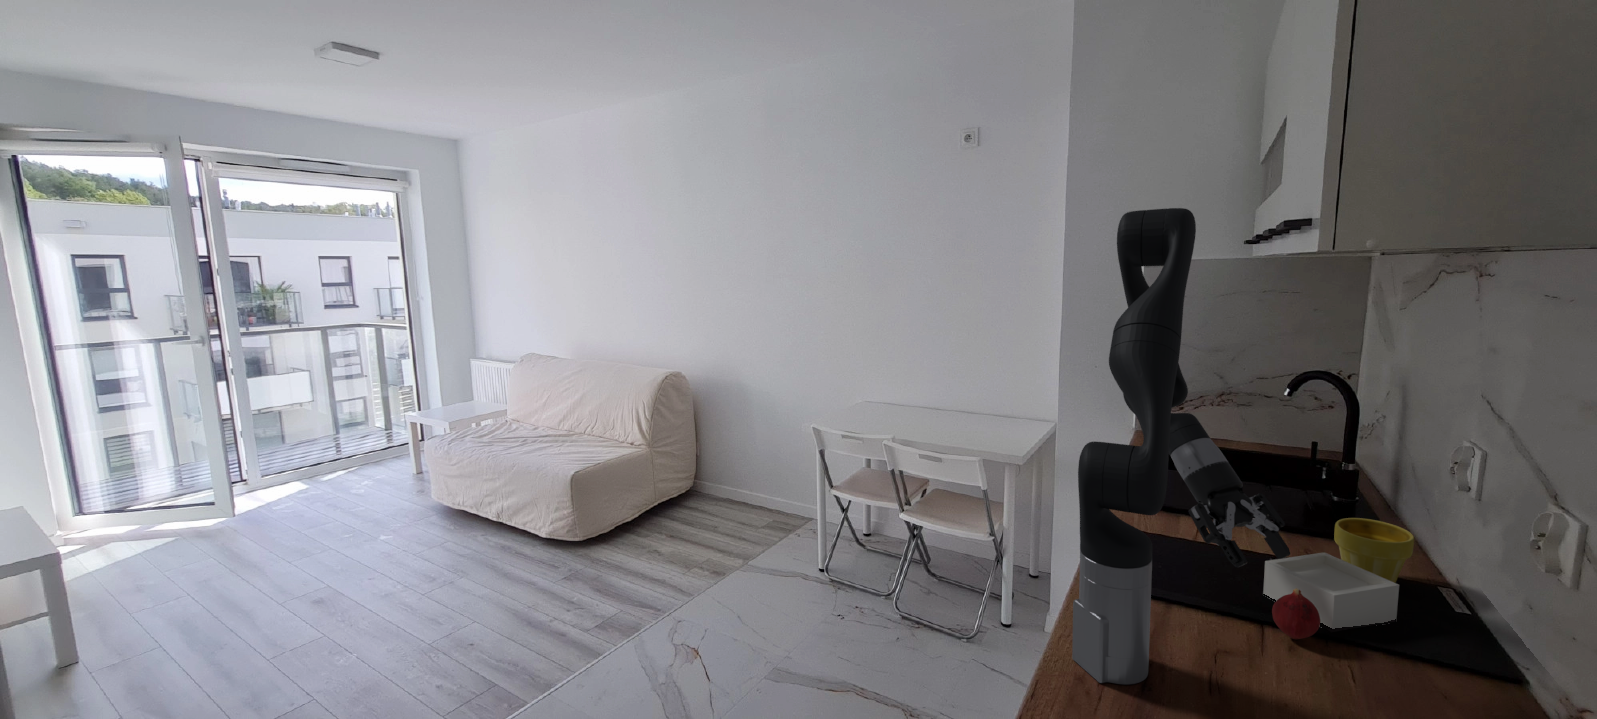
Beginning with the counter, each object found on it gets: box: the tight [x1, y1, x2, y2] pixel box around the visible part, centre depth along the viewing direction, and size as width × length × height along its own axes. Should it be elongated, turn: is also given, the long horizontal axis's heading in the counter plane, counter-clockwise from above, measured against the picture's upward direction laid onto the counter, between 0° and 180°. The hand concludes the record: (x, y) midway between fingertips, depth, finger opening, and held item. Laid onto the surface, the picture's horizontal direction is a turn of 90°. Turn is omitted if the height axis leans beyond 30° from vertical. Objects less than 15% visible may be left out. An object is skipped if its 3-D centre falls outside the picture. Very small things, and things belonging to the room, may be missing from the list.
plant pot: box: [1333, 517, 1415, 584], centre depth 113 cm, size 10×10×10 cm
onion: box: [1271, 588, 1320, 640], centre depth 98 cm, size 6×6×8 cm
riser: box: [1262, 551, 1400, 629], centre depth 106 cm, size 12×12×6 cm
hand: (1263, 561), depth 102 cm, fingers open, 8 cm apart
